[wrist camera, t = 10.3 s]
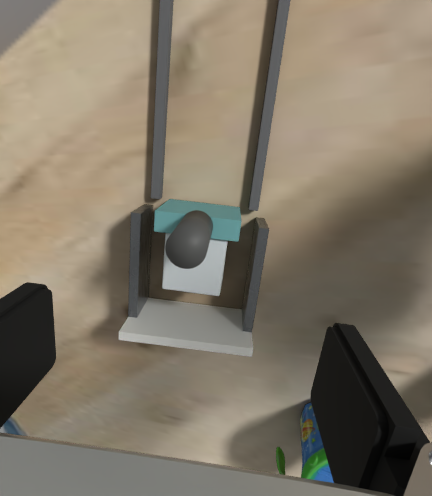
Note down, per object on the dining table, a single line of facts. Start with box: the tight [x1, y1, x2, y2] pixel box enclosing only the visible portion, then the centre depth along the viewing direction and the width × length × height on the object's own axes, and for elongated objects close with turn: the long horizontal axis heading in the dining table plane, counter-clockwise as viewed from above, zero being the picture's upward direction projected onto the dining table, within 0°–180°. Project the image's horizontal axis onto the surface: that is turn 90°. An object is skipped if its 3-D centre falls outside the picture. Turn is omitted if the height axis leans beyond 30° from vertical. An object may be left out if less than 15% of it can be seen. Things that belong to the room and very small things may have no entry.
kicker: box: [154, 199, 241, 269], centre depth 29 cm, size 8×3×14 cm, turn 84°
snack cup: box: [276, 403, 334, 483], centre depth 39 cm, size 16×10×10 cm
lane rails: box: [151, 0, 290, 211], centre depth 32 cm, size 12×21×1 cm, turn 174°
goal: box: [119, 204, 269, 357], centre depth 34 cm, size 14×13×8 cm
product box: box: [162, 233, 228, 296], centre depth 34 cm, size 6×6×7 cm
